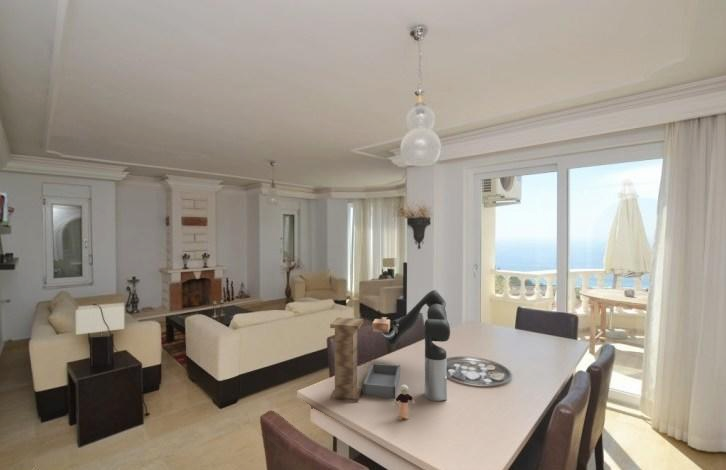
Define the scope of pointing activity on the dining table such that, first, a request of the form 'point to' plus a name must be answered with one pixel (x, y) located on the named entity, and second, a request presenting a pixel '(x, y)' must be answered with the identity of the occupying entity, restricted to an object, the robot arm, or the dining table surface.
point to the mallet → (381, 325)
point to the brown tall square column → (346, 359)
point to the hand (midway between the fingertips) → (383, 319)
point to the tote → (382, 381)
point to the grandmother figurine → (403, 402)
